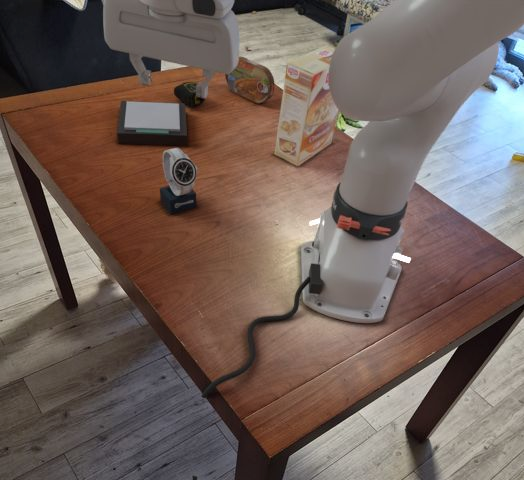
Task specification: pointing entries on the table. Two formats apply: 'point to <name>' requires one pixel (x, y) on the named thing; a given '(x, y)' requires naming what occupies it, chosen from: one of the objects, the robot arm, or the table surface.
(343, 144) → the table surface
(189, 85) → the tape measure
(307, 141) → the coffeecake box
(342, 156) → the table surface
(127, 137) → the scale
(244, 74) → the tin
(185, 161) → the watch
